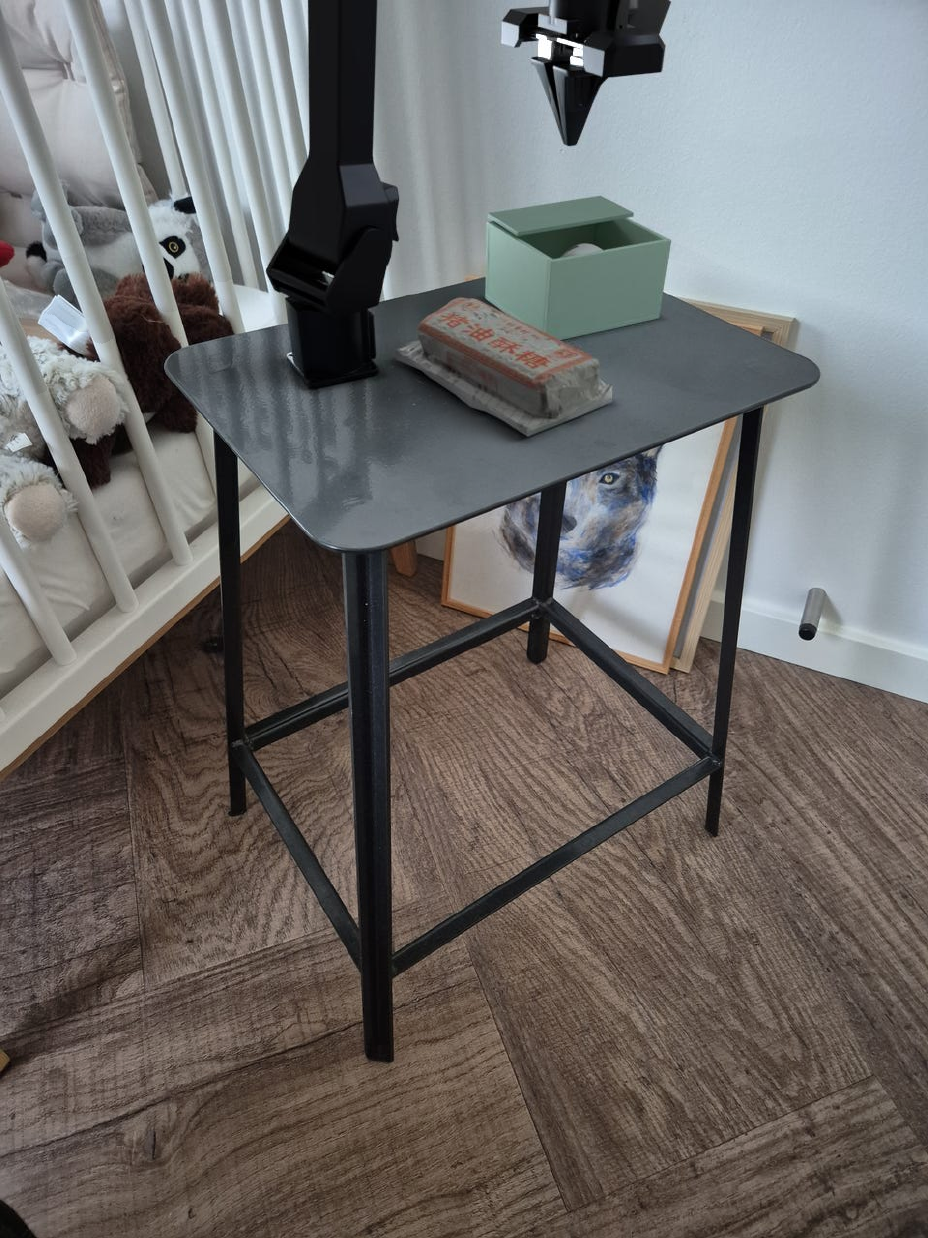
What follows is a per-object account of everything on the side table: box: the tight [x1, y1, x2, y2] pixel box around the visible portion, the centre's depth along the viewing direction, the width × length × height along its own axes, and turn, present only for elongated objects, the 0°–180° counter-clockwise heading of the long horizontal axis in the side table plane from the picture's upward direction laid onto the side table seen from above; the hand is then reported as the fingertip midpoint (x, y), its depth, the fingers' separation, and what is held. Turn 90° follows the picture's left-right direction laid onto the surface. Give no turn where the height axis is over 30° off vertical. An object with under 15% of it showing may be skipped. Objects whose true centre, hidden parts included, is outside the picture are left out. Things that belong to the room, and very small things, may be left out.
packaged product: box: [393, 297, 613, 438], centre depth 75 cm, size 18×5×10 cm
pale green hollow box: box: [484, 217, 672, 341], centre depth 86 cm, size 13×12×8 cm
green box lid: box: [487, 195, 635, 236], centre depth 85 cm, size 13×6×1 cm, turn 117°
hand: (570, 144), depth 86 cm, fingers closed
